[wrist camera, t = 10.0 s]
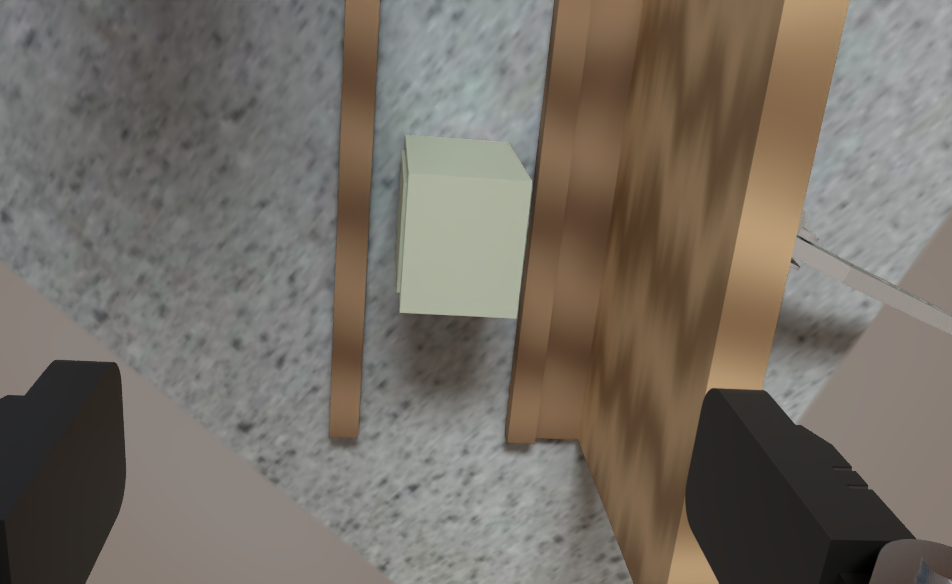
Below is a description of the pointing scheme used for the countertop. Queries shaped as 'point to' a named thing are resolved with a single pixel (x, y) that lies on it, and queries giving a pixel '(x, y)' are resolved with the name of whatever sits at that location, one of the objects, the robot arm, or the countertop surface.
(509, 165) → the pale green box
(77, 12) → the countertop surface
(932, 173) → the countertop surface
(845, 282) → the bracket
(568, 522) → the countertop surface
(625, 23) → the brown wooden rack
